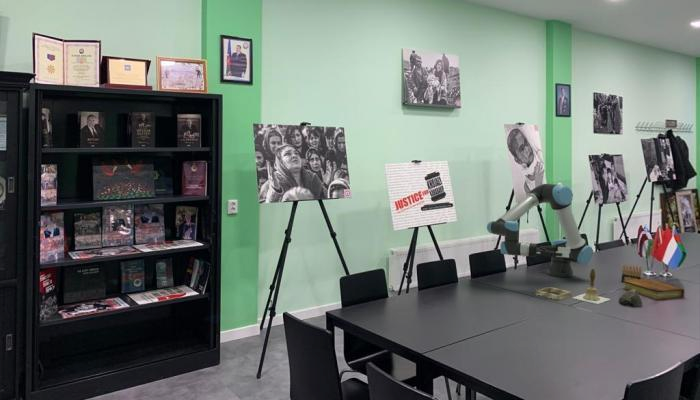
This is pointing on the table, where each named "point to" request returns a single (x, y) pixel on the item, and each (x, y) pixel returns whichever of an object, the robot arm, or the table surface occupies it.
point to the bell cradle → (549, 289)
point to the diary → (654, 289)
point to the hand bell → (591, 288)
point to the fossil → (631, 298)
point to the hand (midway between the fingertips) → (569, 252)
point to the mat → (592, 300)
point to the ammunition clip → (631, 273)
